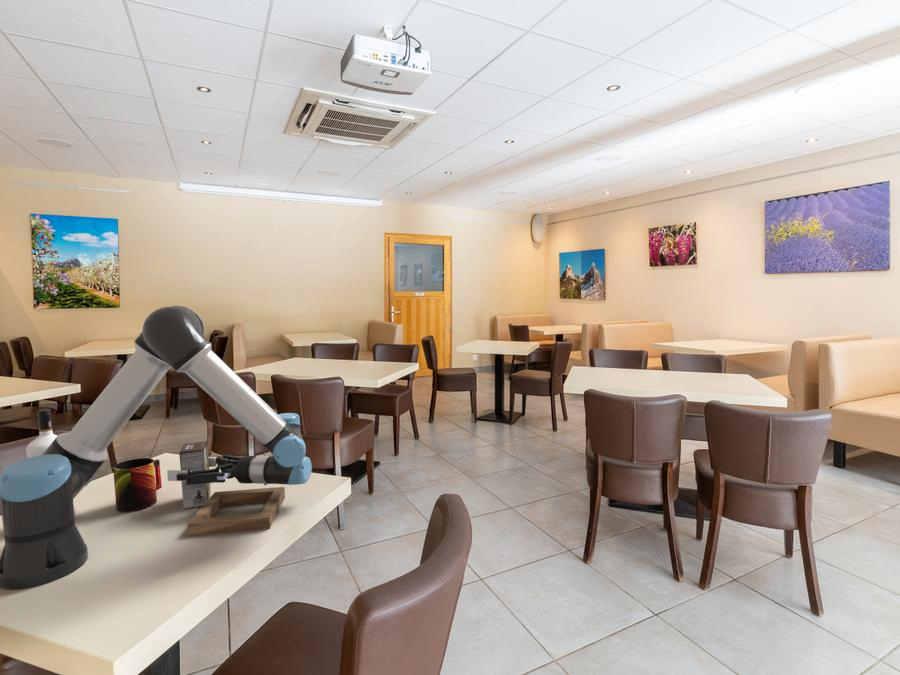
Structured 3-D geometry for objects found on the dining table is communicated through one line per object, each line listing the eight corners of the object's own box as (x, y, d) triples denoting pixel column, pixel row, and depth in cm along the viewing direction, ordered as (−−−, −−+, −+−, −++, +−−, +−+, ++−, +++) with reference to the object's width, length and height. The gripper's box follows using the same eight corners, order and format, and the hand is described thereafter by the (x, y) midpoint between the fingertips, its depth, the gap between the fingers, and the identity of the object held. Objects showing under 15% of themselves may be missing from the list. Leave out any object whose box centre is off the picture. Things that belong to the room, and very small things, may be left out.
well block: (269, 528, 122) (269, 517, 121) (188, 535, 119) (187, 523, 119) (285, 496, 141) (284, 486, 141) (215, 502, 139) (215, 492, 138)
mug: (162, 491, 148) (159, 452, 147) (153, 508, 135) (150, 466, 135) (124, 496, 145) (121, 456, 144) (112, 515, 132) (108, 471, 131)
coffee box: (187, 497, 143) (183, 443, 142) (211, 493, 145) (208, 440, 144) (182, 509, 134) (178, 452, 133) (208, 505, 137) (204, 448, 135)
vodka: (49, 515, 133) (39, 406, 130) (84, 513, 133) (75, 405, 131) (21, 531, 123) (9, 414, 121) (59, 529, 124) (48, 413, 121)
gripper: (232, 499, 126) (154, 497, 128) (275, 468, 149) (207, 467, 151) (231, 471, 125) (151, 469, 128) (274, 444, 148) (206, 443, 151)
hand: (182, 468), depth 140 cm, fingers closed on coffee box, 11 cm apart
